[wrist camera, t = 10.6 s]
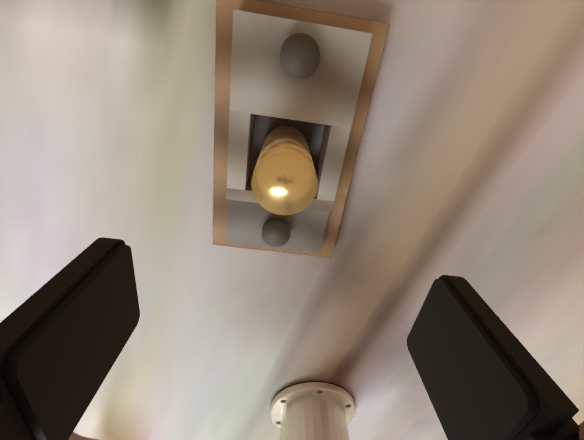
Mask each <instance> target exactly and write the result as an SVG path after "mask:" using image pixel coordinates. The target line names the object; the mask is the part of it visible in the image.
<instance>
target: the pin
mask: <svg viewBox="0 0 584 440" xmlns="http://www.w3.org/2000/svg"><path fill="white" fill-rule="evenodd" d="M251 187H252V192H253V195H254V197H255V199H256V200H257V202H258V203H259V204H260V205H261V206H262V207H263V208H264V209H266V210H267V211H269V212H272V213H274V214H278V215H291V214H295V213H298V212H300V211H302V210H304V209H305V208H306V207H308V206H309V205H310V204H311V202H312V201H313V199H314V198H315V195H316V193H317V189H318V179H317V175H316V171H315V168H314V164H313V161H312V157H311V154H310V150H309V147H308V143H307V140H306V138H305V136H304V135H303V134H302V133H301V132H300V131H299V130H297V129H296V128H293V127H290V126H281V127H278V128H275V129H274V130H272V131H271V132H270V133H269V134H268V135H267V137H266V138H265V140H264V143H263V146H262V149H261V152H260V155H259V158H258V160H257V163H256V166H255V169H254V172H253V175H252V180H251Z"/></svg>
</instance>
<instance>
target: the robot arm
mask: <svg viewBox="0 0 584 440" xmlns="http://www.w3.org/2000/svg"><path fill="white" fill-rule="evenodd" d="M139 317H140V311H139V303H138V296H137V289H136V282H135V274H134V267H133V260H132V253H131V248H130V246H128V245H125V242H124V241H123V240H120V239H111V238H98V239H97V240H96V241H94V242H93V243H92V244H91V245H90V246H89V247H88V248H86V249H85V250H84V251H83V252H82V253H81V254H79V255H78V256H77V257H76V258H75V259H74V260H73V261H71V262H70V263H69V264H68V265H67V266H66V267H64V268H63V269H62V270H61V271H60V272H59V273H57V274H56V275H55V276H54V277H53V278H52V279H51V280H49V281H48V282H47V283H46V284H45V285H44V286H42V287H41V288H40V289H39V290H38V291H37V292H36V293H34V294H33V295H32V296H31V297H30V298H29V299H27V300H26V301H25V302H24V303H23V304H22V305H21V306H19V307H18V308H17V309H16V310H15V311H14V312H12V313H11V314H10V315H9V316H8V317H7V318H5V319H4V320H3V321H2V322H1V323H0V440H68V438H69V437H70V435H71V434H72V432H73V430H74V429H75V427H76V426H77V424H78V422H79V421H80V419H81V417H82V416H83V414H84V412H85V411H86V409H87V407H88V406H89V404H90V402H91V401H92V399H93V397H94V396H95V394H96V392H97V391H98V389H99V387H100V386H101V384H102V382H103V381H104V379H105V377H106V376H107V374H108V372H109V371H110V369H111V367H112V366H113V364H114V362H115V361H116V359H117V357H118V356H119V354H120V352H121V351H122V349H123V347H124V346H125V344H126V342H127V341H128V339H129V337H130V336H131V334H132V332H133V331H134V329H135V327H136V326H137V324H138V321H139ZM407 346H408V350H409V352H410V354H411V357H412V359H413V361H414V363H415V366H416V368H417V370H418V373H419V375H420V377H421V379H422V382H423V384H424V386H425V388H426V391H427V393H428V395H429V398H430V400H431V402H432V404H433V407H434V409H435V411H436V413H437V416H438V418H439V420H440V423H441V425H442V427H443V429H444V432H445V434H446V436H447V438H448V440H584V421H583V422H582V423H581V424H580V425H577V423H576V422H575V421H574V420H573V419H572V417H573V416H574V415H575V414H576V413H577V412H578V411H579V409H578V408H577V407H576V406H575V405H574V404H573V403H572V401H571V400H570V399H569V398H568V397H567V396H566V395H565V393H564V392H563V391H562V390H561V389H560V388H559V386H558V385H557V384H556V383H555V382H554V381H553V380H552V378H551V377H550V376H549V375H548V374H547V373H546V371H545V370H544V369H543V368H542V367H541V366H540V365H539V363H538V362H537V361H536V360H535V359H534V358H533V357H532V355H531V354H530V353H529V352H528V351H527V350H526V348H525V347H524V346H523V345H522V344H521V343H520V342H519V340H518V339H517V338H516V337H515V336H514V335H513V334H512V332H511V331H510V330H509V329H508V328H507V327H506V325H505V324H504V323H503V322H502V321H501V320H500V319H499V317H498V316H497V315H496V314H495V313H494V312H493V311H492V309H491V308H490V307H489V306H488V305H487V304H486V302H485V301H484V300H483V299H482V298H481V297H480V296H479V294H478V293H477V292H476V291H475V290H474V289H473V288H472V286H471V285H470V284H469V283H468V282H467V281H466V280H465V279H464V278H463V277H458V276H449V275H442V276H441V277H439V279H436V280H435V281H434V282H433V284H432V286H431V288H430V291H429V293H428V295H427V297H426V299H425V301H424V303H423V306H422V308H421V310H420V312H419V314H418V316H417V318H416V321H415V323H414V325H413V327H412V329H411V331H410V333H409V335H408V338H407ZM270 415H271V419H272V421H273V423H274V424H275V425H276V426H277V427H278V428H279V429H281V436H280V440H350V439H349V434H348V428H347V425H348V424H349V423H350V422H351V421H352V419H353V418H354V415H355V406H354V401H353V399H352V397H351V395H350V394H349V393H348V392H347V391H345V390H344V389H342V388H340V387H338V386H335V385H333V384H328V383H322V382H307V383H300V384H297V385H293V386H291V387H288V388H286V389H284V390H283V391H281V392H280V393H279V394H278V395H276V396H275V398H274V399H273V401H272V403H271V410H270Z"/></svg>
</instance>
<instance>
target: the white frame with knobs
mask: <svg viewBox="0 0 584 440" xmlns="http://www.w3.org/2000/svg"><path fill="white" fill-rule="evenodd" d="M388 28H389V24H387V23H382V22H376V21H370V20H365V19H359V18H354V17H348V16H342V15H337V14H331V13H326V12H320V11H314V10H309V9H303V8H297V7H292V6H286V5H281V4H275V3H269V2H264V1H258V0H216V60H215V126H214V192H213V245H221V246H230V247H239V248H248V249H258V250H267V251H276V252H285V253H294V254H303V255H312V256H321V257H332V253H333V249H334V245H335V241H336V237H337V233H338V229H339V225H340V221H341V217H342V213H343V209H344V205H345V201H346V197H347V193H348V189H349V185H350V181H351V177H352V173H353V169H354V165H355V161H356V157H357V153H358V149H359V145H360V141H361V137H362V133H363V129H364V125H365V121H366V117H367V113H368V109H369V105H370V101H371V97H372V93H373V89H374V85H375V81H376V76H377V72H378V68H379V64H380V60H381V56H382V52H383V48H384V44H385V40H386V36H387V32H388ZM254 114H256V115H263V116H270V117H277V118H284V119H290V120H297V121H304V122H311V123H318V124H325V127H324V133H323V138H322V144H321V149H320V154H319V160H318V165H317V170H316V175H317V179H318V189H317V193H316V195H315V198H314V199H313V201H312V202H311V204H310V205H309V206H308V207H306V208H305V209H304V210H302V211H300V212H298V213H295V214H291V215H278V214H274V213H272V212H269V211H267V210H266V209H264V208H263V207H262V206H261V205H260V204H259V203H258V202H257V200H256V199H255V197H254V195H253V192H252V187H251V180H252V178H250V166H251V153H252V139H253V126H254Z"/></svg>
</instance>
